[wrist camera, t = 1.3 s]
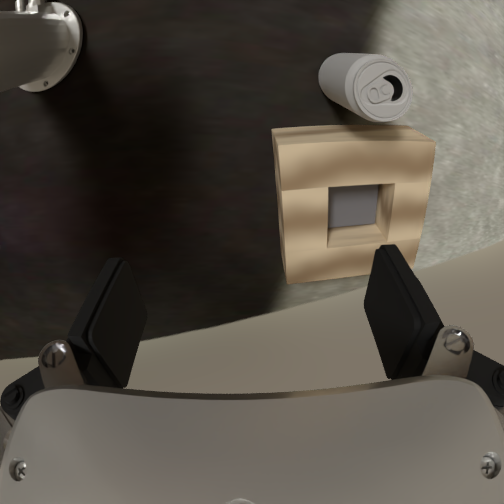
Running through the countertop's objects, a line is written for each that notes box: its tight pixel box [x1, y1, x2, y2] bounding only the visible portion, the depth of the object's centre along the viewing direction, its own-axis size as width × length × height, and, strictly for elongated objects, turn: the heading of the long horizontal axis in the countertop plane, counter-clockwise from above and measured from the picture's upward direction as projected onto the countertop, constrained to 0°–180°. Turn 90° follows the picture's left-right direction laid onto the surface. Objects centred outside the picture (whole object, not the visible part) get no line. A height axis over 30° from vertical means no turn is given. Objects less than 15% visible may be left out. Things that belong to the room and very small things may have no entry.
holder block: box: [272, 125, 436, 284], centre depth 36 cm, size 18×18×7 cm
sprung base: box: [327, 184, 379, 228], centre depth 37 cm, size 7×7×1 cm
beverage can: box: [319, 53, 413, 122], centre depth 26 cm, size 6×6×12 cm
